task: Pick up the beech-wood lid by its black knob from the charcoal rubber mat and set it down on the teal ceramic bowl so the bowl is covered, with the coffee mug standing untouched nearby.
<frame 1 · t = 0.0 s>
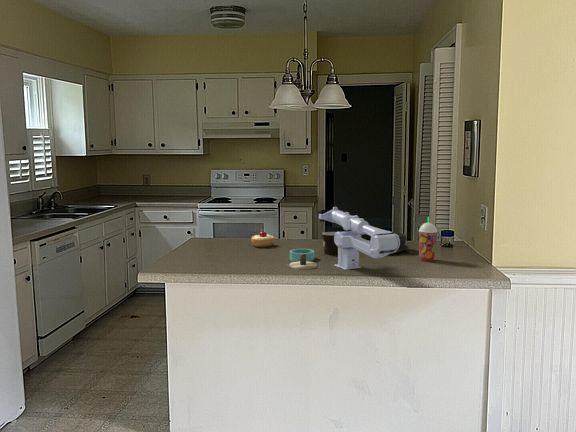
hand: (325, 211, 252), 22 cm above the countertop, tool horizontal, fingers open, 7 cm apart
mat: (303, 267, 238), on the countertop
casserole: (389, 251, 272), on the countertop
smoothie: (427, 260, 249), on the countertop
lid: (303, 266, 238), resting on mat
pastry: (262, 246, 286), on the countertop
bowl: (301, 259, 252), on the countertop
coffee mug: (331, 253, 266), on the countertop
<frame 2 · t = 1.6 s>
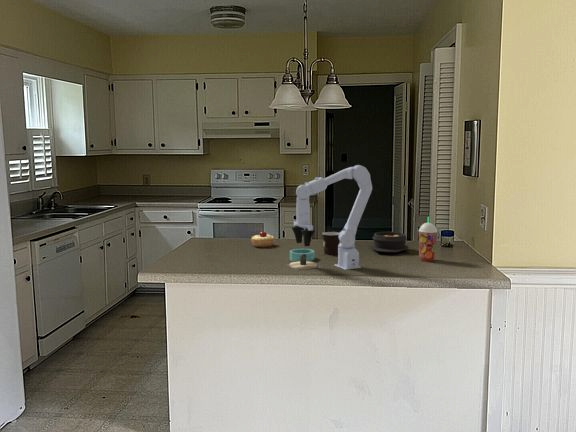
hand: (303, 244, 237), 10 cm above the countertop, tool pointing down, fingers open, 7 cm apart
nothing on the countertop moved.
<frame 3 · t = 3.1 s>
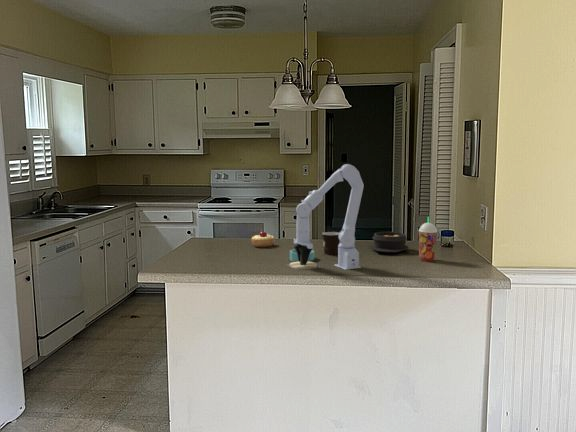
hand: (303, 262, 238), 2 cm above the countertop, tool pointing down, fingers closed on lid, 3 cm apart
lid: (303, 266, 238), resting on mat, touching gripper
everything else where it was.
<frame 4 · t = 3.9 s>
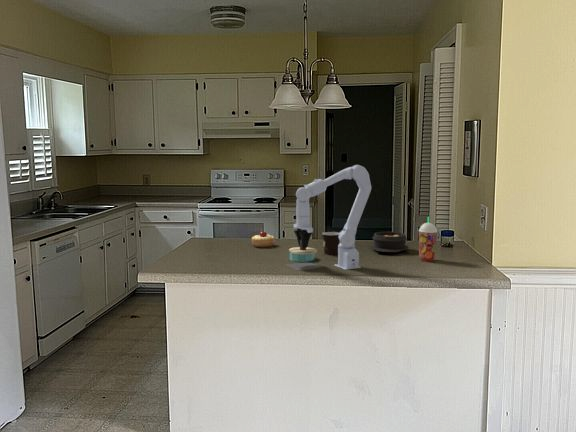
hand: (303, 246, 237), 9 cm above the countertop, tool pointing down, fingers closed on lid, 3 cm apart
lid: (302, 251, 237), point 7 cm above the countertop, touching gripper
everything else where it was.
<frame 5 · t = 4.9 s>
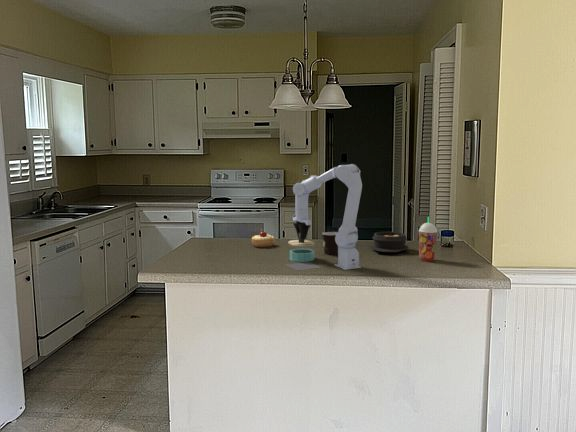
hand: (301, 238, 251), 10 cm above the countertop, tool pointing down, fingers closed on lid, 3 cm apart
lid: (301, 244, 251), point 7 cm above the countertop, touching gripper
everything else where it was.
when the fingers open (7 cm above the countertop, at t = 5.6 s): lid stays where it is, resting on bowl.
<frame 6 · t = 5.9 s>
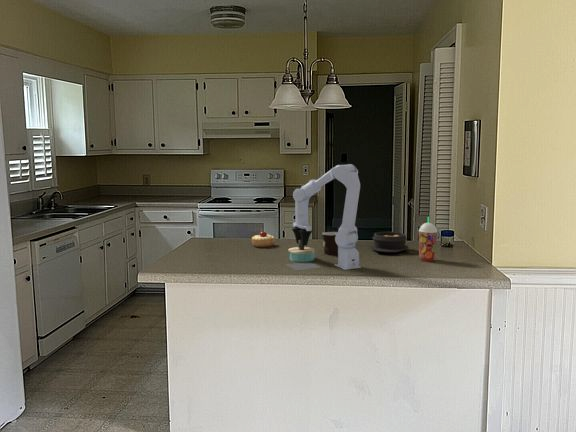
hand: (301, 244, 251), 7 cm above the countertop, tool pointing down, fingers open, 5 cm apart
lid: (301, 251, 251), point 4 cm above the countertop, touching bowl
everything else where it was.
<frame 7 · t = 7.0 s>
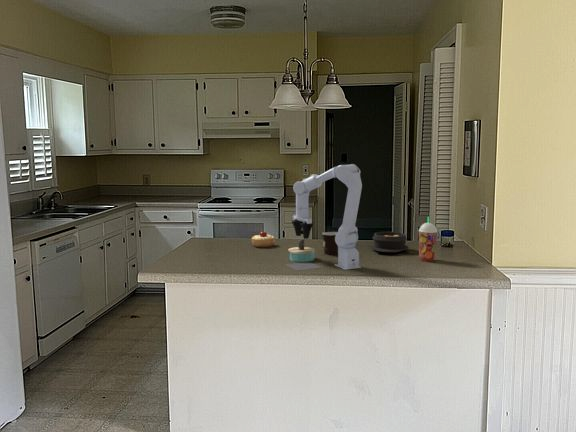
hand: (302, 237, 251), 10 cm above the countertop, tool pointing down, fingers open, 7 cm apart
nothing on the countertop moved.
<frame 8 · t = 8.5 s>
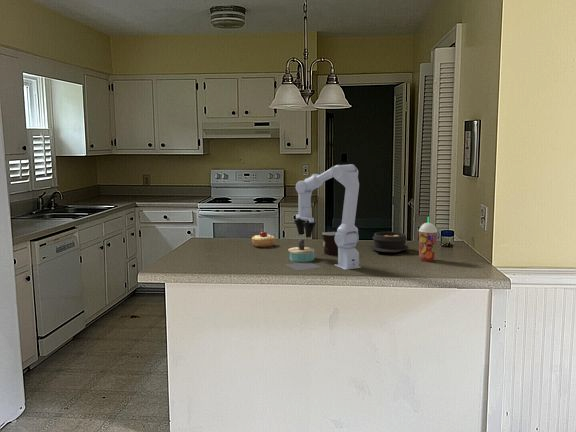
hand: (304, 235, 255), 10 cm above the countertop, tool pointing down, fingers open, 7 cm apart
nothing on the countertop moved.
at the end: lid 0.3 cm off-centre on the bowl, point 4.0 cm above the bowl's base; lid tilted 0°; the gripper is holding nothing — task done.
